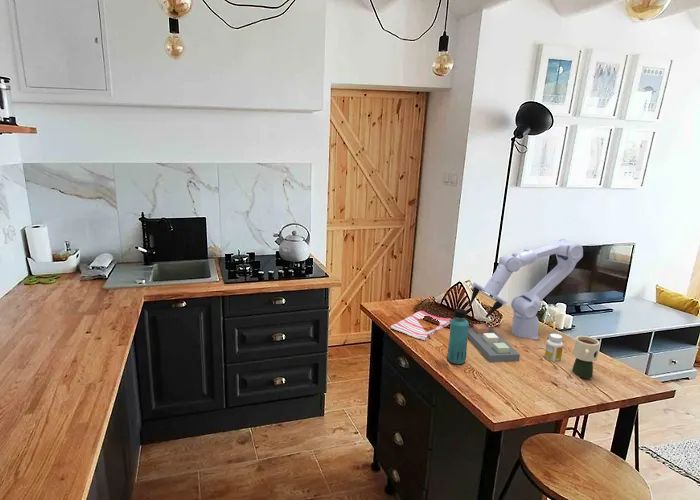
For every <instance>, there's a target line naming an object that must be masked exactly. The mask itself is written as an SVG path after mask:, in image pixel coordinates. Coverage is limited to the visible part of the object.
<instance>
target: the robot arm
mask: <svg viewBox="0 0 700 500" xmlns="http://www.w3.org/2000/svg"><path fill="white" fill-rule="evenodd" d="M552 255H555V256H556V261H557V264H556V265H555V266H554V267H553V269H551V270H550V271H549V272H548V273H547V274H546V275H545V276H544V277H543V278H542V279H541V280H539V282H538V283H536V285H535V286H534V287H533V288H532V289H530V290H529V291H524V292H522V293H521V294H519V295H517V296H515V297H514V298H513V299H512V300H511V303H510V306H511V308H512V310H513V316H512V325H511V326H512V327H511V335H512V336H515V337H518V338H522V339H523V338H524V339H525V338H530V339H531V340H538V339H539V337H538V335H539V334H538V333H539V325H540V321H539V318H538V316H537V314H538V312H539V310H540V309H541V308H542V300H543V299H545V298H546V296H547V295H549V294H550V292H552V291H553V290H554V289H555V287H557V286H558V285H559V284H560V283H561V282H562V281H564V279H566V278H567V276H569V274H571V272H573V270H574V268H575V267H576V265H577V263H578V262H579V261H580V260H581V259H582V258H583V257H584V249H583V246H582V245H581V244H579V243H576V242H573V241H569V240H567V239H564V238H561V239H558V240H554V241H553V242H552V243H550V244H547V245H544V246H542V247H539V248H537V249H536V248H535V249H534V250H533V249H531V248H527V247H526V248H524V249H523V250H521V251H518V252H513V253H512V254H509V253H508V254H507V253H506V254H504V255H503V256H501V257H499V260H498V264H497V267H496V269H495V271H494V273H493V274H492V275H491V277H490V278H489V280H488V282H487V283H486V285H485V286H484V287H483V286H482V285H480V284H478V283H477V282H476V281H473V283H472V285H471V287H472V293H471V297H470V300H469V304H468V307H469V308H471V306H472V305H473V302H474V300H475V299H476V297H477V296H478V295H479V293H480V292H481V293H482V294H483V295H485V296H487V297H489V298H491V300H493V301H495V302H494V303H493V305H492V307H491V309H490V310H489V311H488V313H486V315H485V318H486V319H488V317H489V316H490V315H492V314H493V313H494V312H496V311H497V310H499V309H500V308H502V306H503V307H504V308H505V307H506V306H507V304H508V301H506V300H504V299H502V298H501V297H499V294H500V293H501V291H502V290H503V288H504V286H505V285H506V283H507V282H508V281H509V279H510V277H511V276H512V274H513V273H514V272H515V273H516V272H518V271H519V270H520V269H521V268H523V267H526V266H528V265H533V264H534V263H536V261H537V259H542V258H545V257H548V256H552Z"/></svg>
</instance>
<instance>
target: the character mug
mask: <svg viewBox="0 0 700 500" xmlns="http://www.w3.org/2000/svg"><path fill="white" fill-rule="evenodd" d="M600 345H601V343H600V340H598V339H596V338H594V337H591V336H588V335H587V336H586V335H578V336H576V337H575V340H574V347H573V356H574V358H575V361H574V363H573V366H572V370H571V372H572V373H573V374H575V375H576V376H578V377H581V378H583V379H592V378H593V377H594V376H593V373H594V362H596V361H597V359H598V356H599V350H600V349H599V348H600Z"/></svg>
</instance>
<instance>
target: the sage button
mask: <svg viewBox="0 0 700 500" xmlns="http://www.w3.org/2000/svg"><path fill="white" fill-rule="evenodd" d="M509 349H510V348H509V347H508V346H507V345H506V344H505V343H493V350H494V351H495V352H496V353H497V354H509Z"/></svg>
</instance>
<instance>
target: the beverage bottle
mask: <svg viewBox="0 0 700 500" xmlns="http://www.w3.org/2000/svg"><path fill="white" fill-rule="evenodd" d="M466 318H467V310H466V309H463V308H456V309H455V310H454V317H453V318H451V319H452V320H451V322H450V324H449V325H450V327H449V338H448V346H447V348H448V349H447V355H446V356H447V360H448V362H450V363H453V364H457V365H461V364H464V363H465V362H466V361H467V360H466V359H467V353H468V352H467V350H468V341H469V339H468V328H469V326H470V325H469V324H470V323H469V321H468V320H467V319H466Z"/></svg>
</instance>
